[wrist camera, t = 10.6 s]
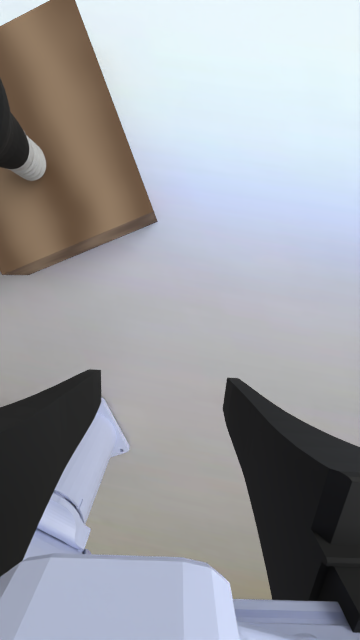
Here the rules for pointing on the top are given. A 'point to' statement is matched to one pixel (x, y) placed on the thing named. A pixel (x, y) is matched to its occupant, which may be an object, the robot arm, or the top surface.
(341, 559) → the robot arm
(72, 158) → the walnut plinth
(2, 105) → the light bulb
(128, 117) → the top surface
